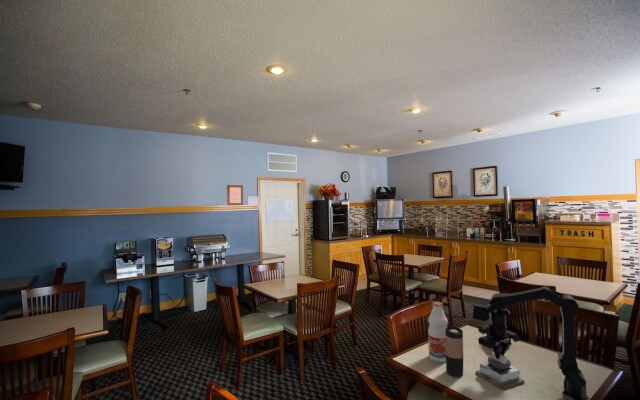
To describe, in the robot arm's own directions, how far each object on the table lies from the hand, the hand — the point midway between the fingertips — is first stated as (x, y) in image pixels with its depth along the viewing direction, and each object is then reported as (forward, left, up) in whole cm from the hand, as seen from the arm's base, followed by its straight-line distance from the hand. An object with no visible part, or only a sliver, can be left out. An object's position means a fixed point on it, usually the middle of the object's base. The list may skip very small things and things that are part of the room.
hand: (499, 358), depth 145 cm
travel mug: (+11, +15, -9) cm, 21 cm away
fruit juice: (+25, +12, -9) cm, 29 cm away
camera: (+23, -28, -9) cm, 37 cm away
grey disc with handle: (0, 0, -5) cm, 5 cm away
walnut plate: (0, 0, -9) cm, 9 cm away
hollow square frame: (0, 0, -8) cm, 8 cm away
